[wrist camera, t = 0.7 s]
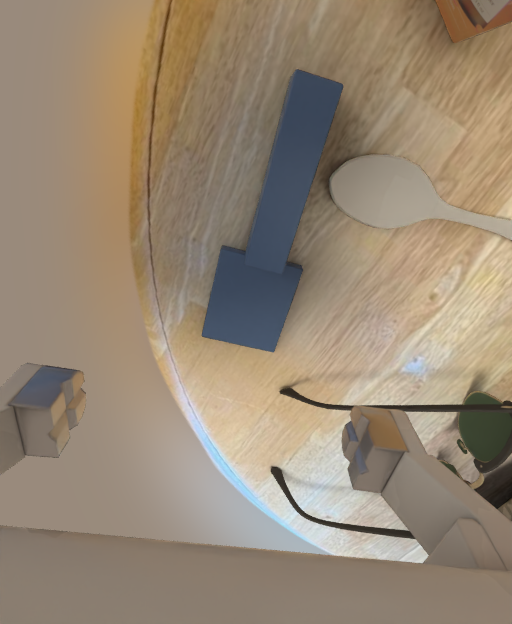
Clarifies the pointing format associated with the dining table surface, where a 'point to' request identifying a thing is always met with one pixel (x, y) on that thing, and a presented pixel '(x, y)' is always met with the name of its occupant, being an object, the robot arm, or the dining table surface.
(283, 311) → the blue stepped bar
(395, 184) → the spoon
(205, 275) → the dining table surface
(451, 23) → the small box
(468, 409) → the sunglasses
